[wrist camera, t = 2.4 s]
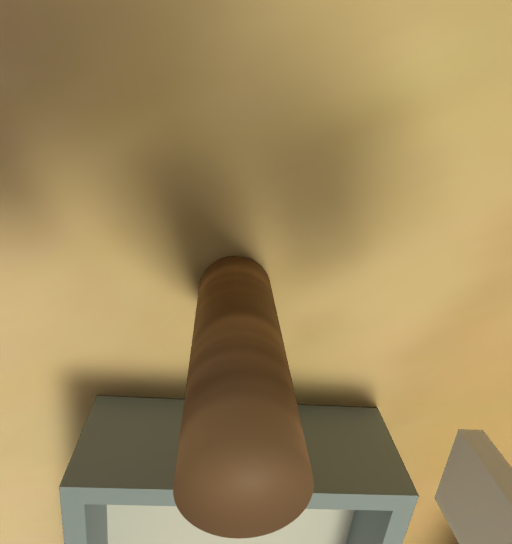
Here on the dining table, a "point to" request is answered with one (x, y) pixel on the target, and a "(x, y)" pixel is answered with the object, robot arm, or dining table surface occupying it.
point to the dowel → (240, 412)
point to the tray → (162, 463)
